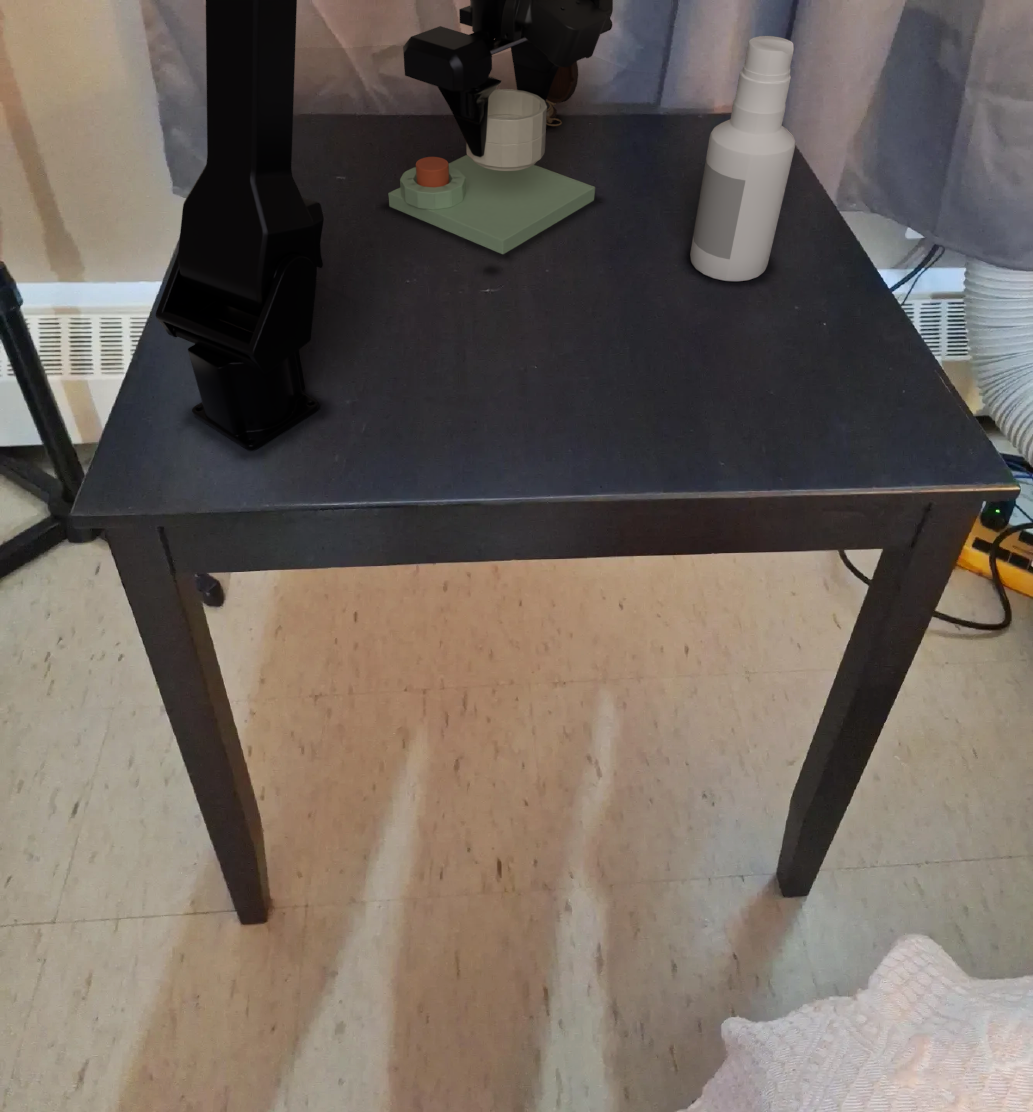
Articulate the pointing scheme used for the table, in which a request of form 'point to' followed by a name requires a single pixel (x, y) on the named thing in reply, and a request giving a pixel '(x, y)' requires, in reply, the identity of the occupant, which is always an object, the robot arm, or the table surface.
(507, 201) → the scale
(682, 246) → the table surface
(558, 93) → the compass
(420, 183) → the button
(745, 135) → the white bottle
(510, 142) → the bowl
